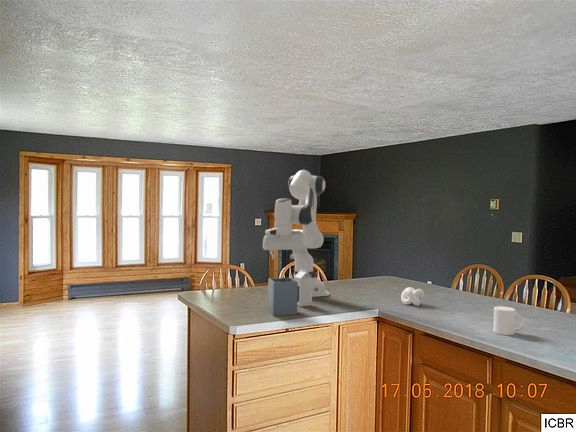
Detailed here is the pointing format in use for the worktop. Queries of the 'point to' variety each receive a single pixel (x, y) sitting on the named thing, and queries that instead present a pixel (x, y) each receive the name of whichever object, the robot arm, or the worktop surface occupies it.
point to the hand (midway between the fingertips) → (283, 258)
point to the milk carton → (304, 288)
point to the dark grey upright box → (283, 296)
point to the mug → (506, 320)
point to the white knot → (412, 296)
